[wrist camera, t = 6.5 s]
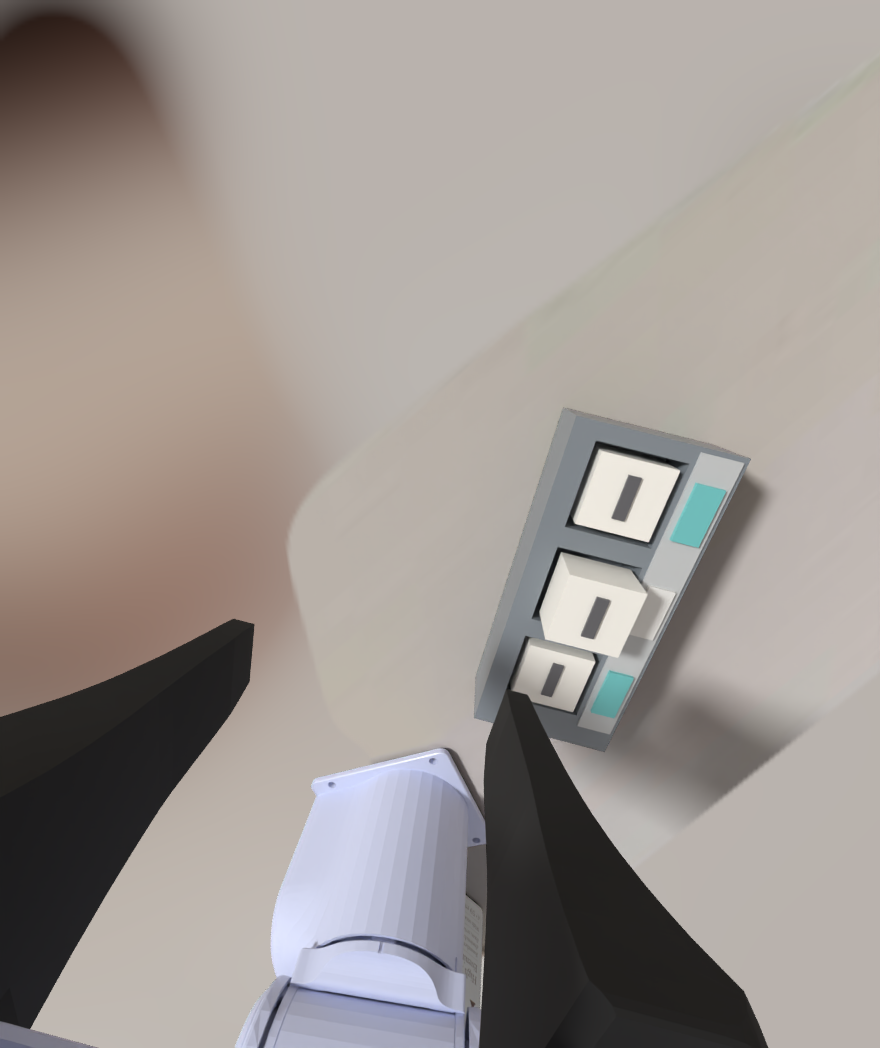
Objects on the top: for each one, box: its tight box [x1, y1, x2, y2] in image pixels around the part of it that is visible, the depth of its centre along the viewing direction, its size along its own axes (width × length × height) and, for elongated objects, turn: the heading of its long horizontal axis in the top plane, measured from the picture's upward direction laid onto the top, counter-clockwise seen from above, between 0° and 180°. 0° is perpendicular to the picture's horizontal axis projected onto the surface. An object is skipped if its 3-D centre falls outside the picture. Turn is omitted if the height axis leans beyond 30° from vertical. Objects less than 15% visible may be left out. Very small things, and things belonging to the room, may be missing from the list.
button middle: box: [539, 552, 648, 658], centre depth 18 cm, size 3×3×2 cm
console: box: [474, 407, 751, 752], centre depth 20 cm, size 15×7×3 cm, turn 167°
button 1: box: [510, 636, 595, 712], centre depth 21 cm, size 3×3×2 cm
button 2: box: [570, 443, 680, 542], centre depth 18 cm, size 3×3×2 cm
